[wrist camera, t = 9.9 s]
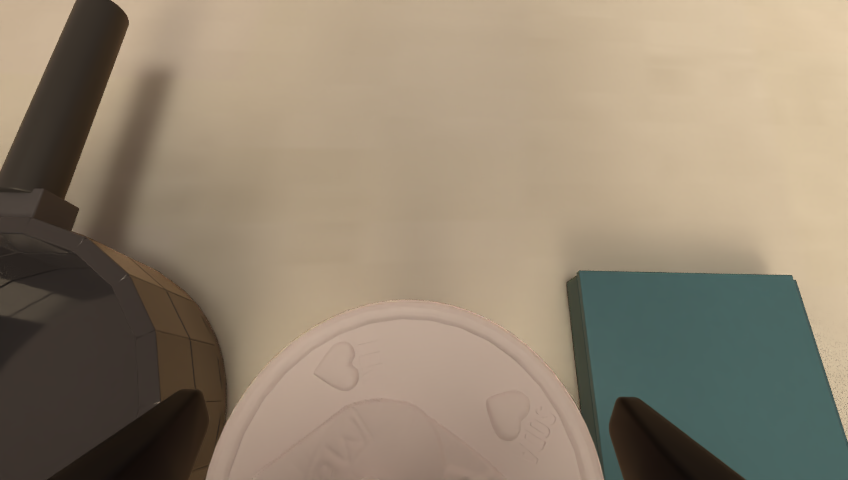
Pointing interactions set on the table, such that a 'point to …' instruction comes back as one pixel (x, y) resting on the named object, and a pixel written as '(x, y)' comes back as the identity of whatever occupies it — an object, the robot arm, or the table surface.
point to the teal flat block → (709, 368)
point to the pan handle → (62, 115)
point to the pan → (91, 348)
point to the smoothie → (406, 404)
